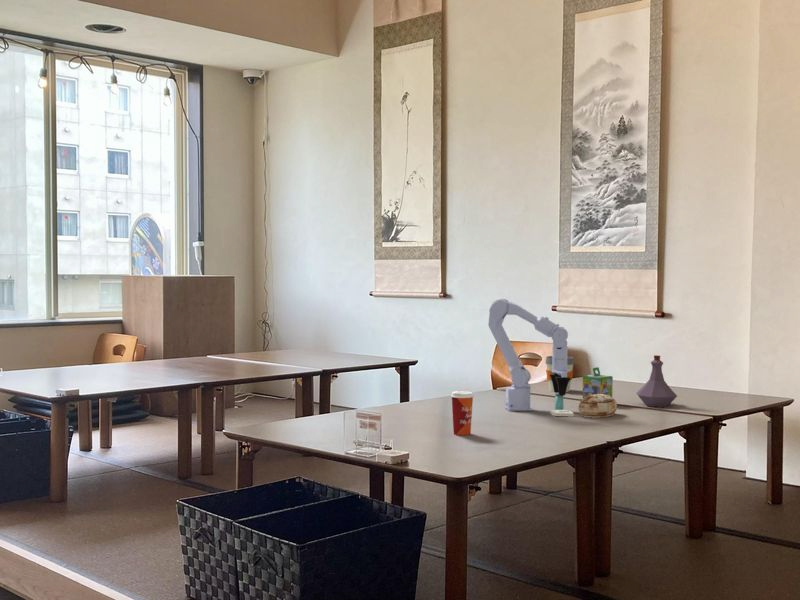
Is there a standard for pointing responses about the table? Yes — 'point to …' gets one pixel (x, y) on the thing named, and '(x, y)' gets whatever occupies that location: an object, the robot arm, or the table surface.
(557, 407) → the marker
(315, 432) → the table surface
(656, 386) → the flask
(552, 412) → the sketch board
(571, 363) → the reusable coffee cup
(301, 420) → the table surface
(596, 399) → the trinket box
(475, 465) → the table surface
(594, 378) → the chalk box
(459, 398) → the paper cup
